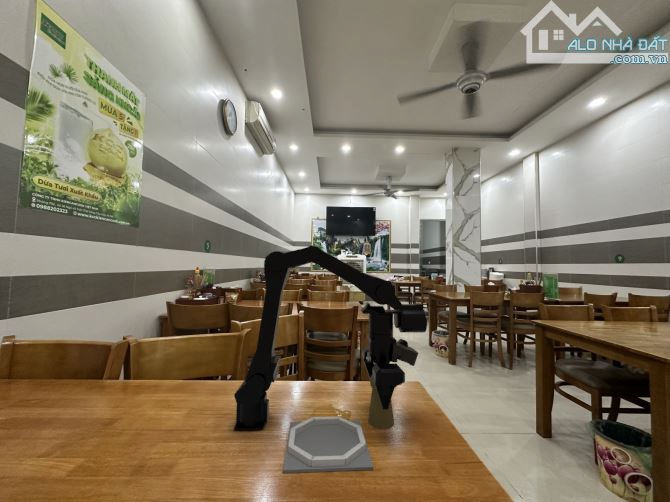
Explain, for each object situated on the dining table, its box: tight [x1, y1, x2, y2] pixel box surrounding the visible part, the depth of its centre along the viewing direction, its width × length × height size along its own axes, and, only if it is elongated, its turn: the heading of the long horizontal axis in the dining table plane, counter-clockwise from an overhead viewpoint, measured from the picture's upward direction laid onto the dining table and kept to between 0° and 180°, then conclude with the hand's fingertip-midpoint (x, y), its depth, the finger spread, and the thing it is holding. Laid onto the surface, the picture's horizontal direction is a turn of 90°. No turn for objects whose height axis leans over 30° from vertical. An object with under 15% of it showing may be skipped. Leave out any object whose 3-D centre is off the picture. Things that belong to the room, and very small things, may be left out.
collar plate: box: [282, 416, 374, 474], centre depth 60 cm, size 16×16×2 cm
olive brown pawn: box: [367, 374, 395, 430], centre depth 69 cm, size 6×6×11 cm
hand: (380, 399), depth 69 cm, fingers open, 9 cm apart
